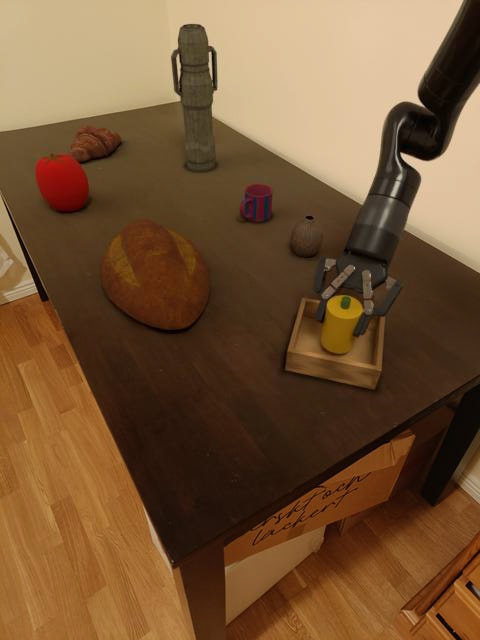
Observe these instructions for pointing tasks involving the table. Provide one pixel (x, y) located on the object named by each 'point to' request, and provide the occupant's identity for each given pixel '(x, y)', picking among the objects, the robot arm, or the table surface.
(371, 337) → the tray
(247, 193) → the mug
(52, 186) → the red rounded lump
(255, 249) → the table surface
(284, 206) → the table surface
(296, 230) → the vase
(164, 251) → the bread
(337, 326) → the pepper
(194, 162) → the grey stone totem
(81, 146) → the pastry
